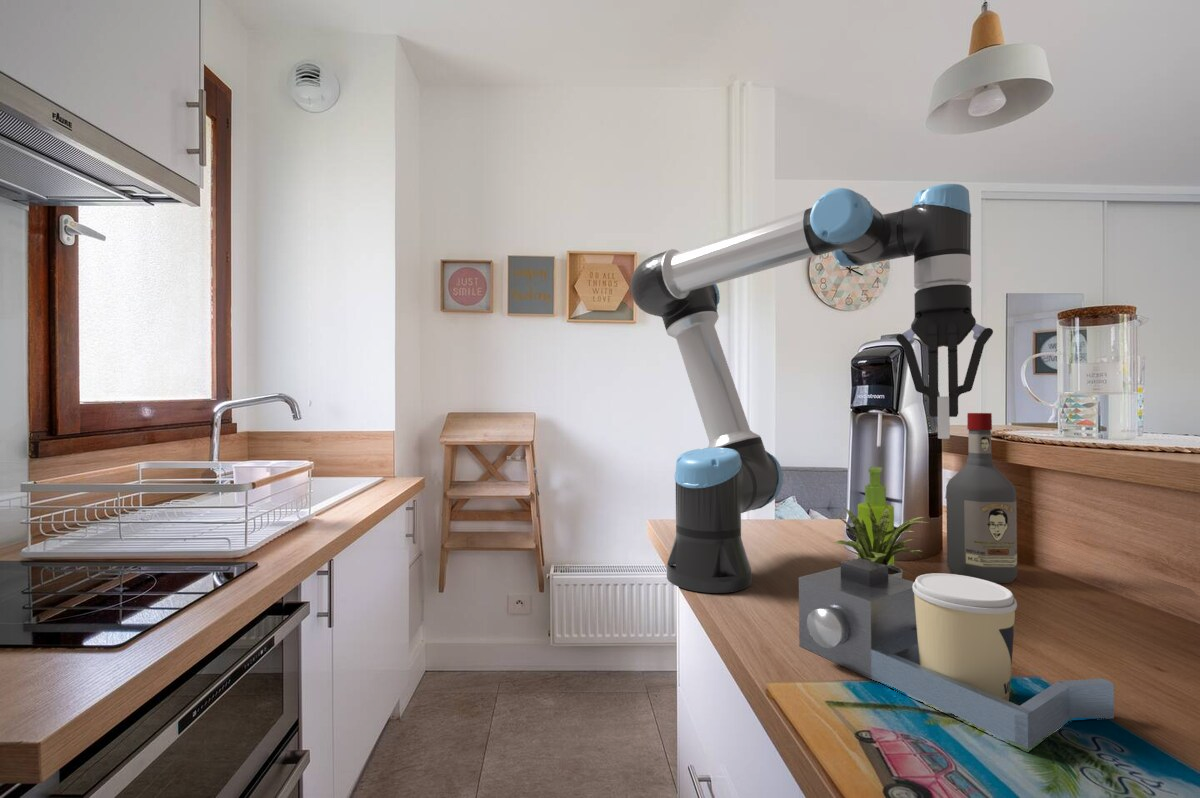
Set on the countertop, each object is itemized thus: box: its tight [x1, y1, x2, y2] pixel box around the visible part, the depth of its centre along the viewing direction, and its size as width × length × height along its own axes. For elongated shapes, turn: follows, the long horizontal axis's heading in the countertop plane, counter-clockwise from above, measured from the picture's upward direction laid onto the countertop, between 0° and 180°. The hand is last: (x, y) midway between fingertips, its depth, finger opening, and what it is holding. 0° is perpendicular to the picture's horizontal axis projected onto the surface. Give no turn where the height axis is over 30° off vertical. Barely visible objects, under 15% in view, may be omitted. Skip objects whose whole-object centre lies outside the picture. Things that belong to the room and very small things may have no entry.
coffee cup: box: [912, 572, 1018, 702], centre depth 58 cm, size 9×9×12 cm
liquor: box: [945, 412, 1018, 584], centre depth 98 cm, size 9×9×30 cm
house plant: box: [834, 502, 930, 579], centre depth 81 cm, size 14×14×16 cm
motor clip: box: [798, 557, 1115, 749], centre depth 61 cm, size 16×27×11 cm, turn 31°
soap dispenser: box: [857, 466, 895, 566], centre depth 98 cm, size 6×7×20 cm
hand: (943, 438), depth 83 cm, fingers closed
